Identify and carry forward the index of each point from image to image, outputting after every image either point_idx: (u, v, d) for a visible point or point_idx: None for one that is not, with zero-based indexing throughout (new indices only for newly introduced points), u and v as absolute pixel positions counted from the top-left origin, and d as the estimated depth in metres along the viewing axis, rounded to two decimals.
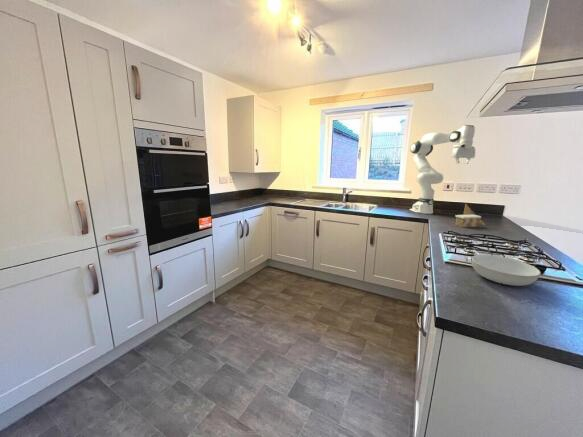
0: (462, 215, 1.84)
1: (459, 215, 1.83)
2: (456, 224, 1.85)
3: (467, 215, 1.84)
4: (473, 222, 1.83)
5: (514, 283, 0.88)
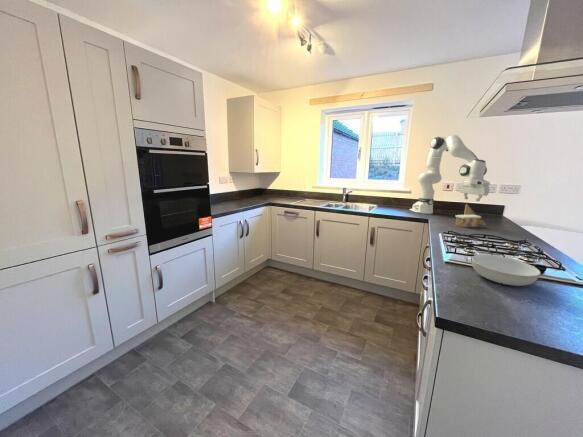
0: (462, 215, 1.84)
1: (459, 215, 1.83)
2: (456, 224, 1.85)
3: (467, 215, 1.84)
4: (473, 222, 1.83)
5: (514, 283, 0.88)
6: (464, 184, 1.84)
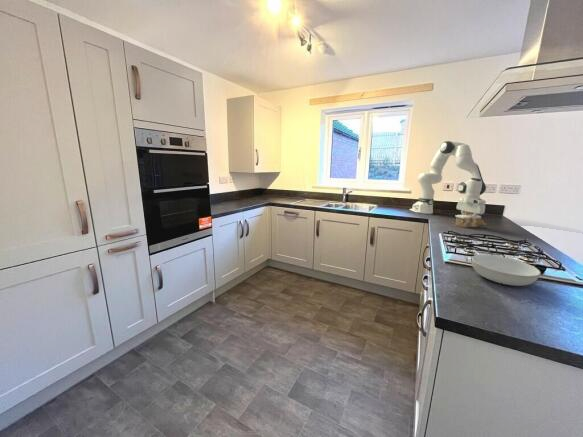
0: (462, 215, 1.84)
1: (459, 215, 1.83)
2: (456, 224, 1.85)
3: (467, 215, 1.84)
4: (473, 222, 1.83)
5: (514, 283, 0.88)
6: (460, 201, 1.88)
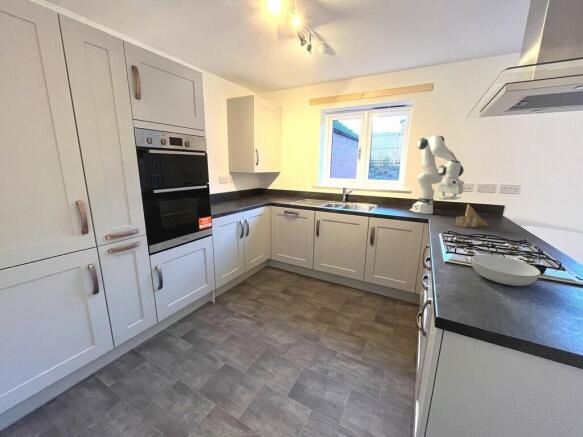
0: (442, 196, 1.93)
1: (439, 196, 1.92)
2: (456, 224, 1.85)
3: (447, 196, 1.93)
4: (473, 222, 1.83)
5: (514, 283, 0.88)
6: (441, 183, 1.96)
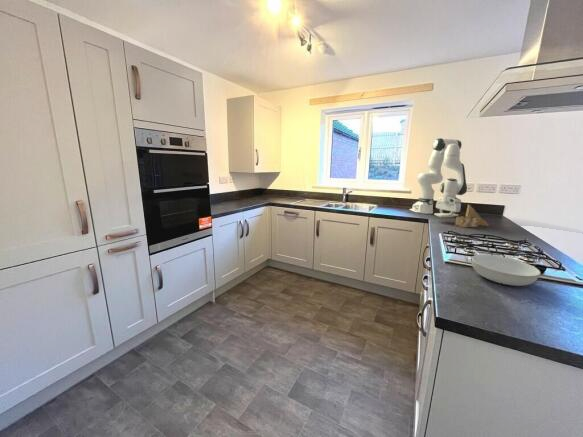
0: (440, 213, 1.95)
1: (437, 213, 1.95)
2: (456, 224, 1.85)
3: (445, 213, 1.96)
4: (473, 222, 1.83)
5: (514, 283, 0.88)
6: (439, 200, 1.99)
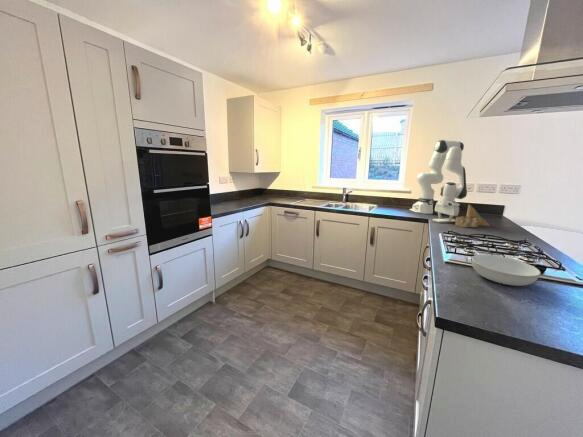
0: (438, 219, 1.97)
1: (435, 219, 1.97)
2: (456, 224, 1.85)
3: (443, 219, 1.97)
4: (473, 222, 1.83)
5: (514, 283, 0.88)
6: (438, 204, 2.00)
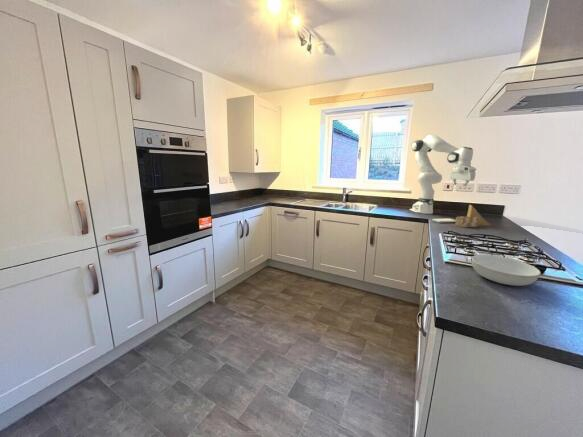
0: (438, 219, 1.97)
1: (435, 219, 1.97)
2: (456, 224, 1.85)
3: (443, 219, 1.97)
4: (473, 222, 1.83)
5: (514, 283, 0.88)
6: (453, 170, 1.97)
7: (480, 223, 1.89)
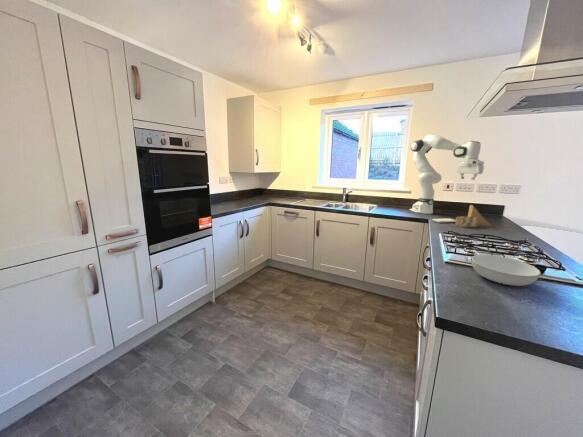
0: (438, 219, 1.97)
1: (435, 219, 1.97)
2: (456, 224, 1.85)
3: (443, 219, 1.97)
4: (473, 222, 1.83)
5: (514, 283, 0.88)
6: (460, 164, 1.99)
7: (481, 223, 1.89)
